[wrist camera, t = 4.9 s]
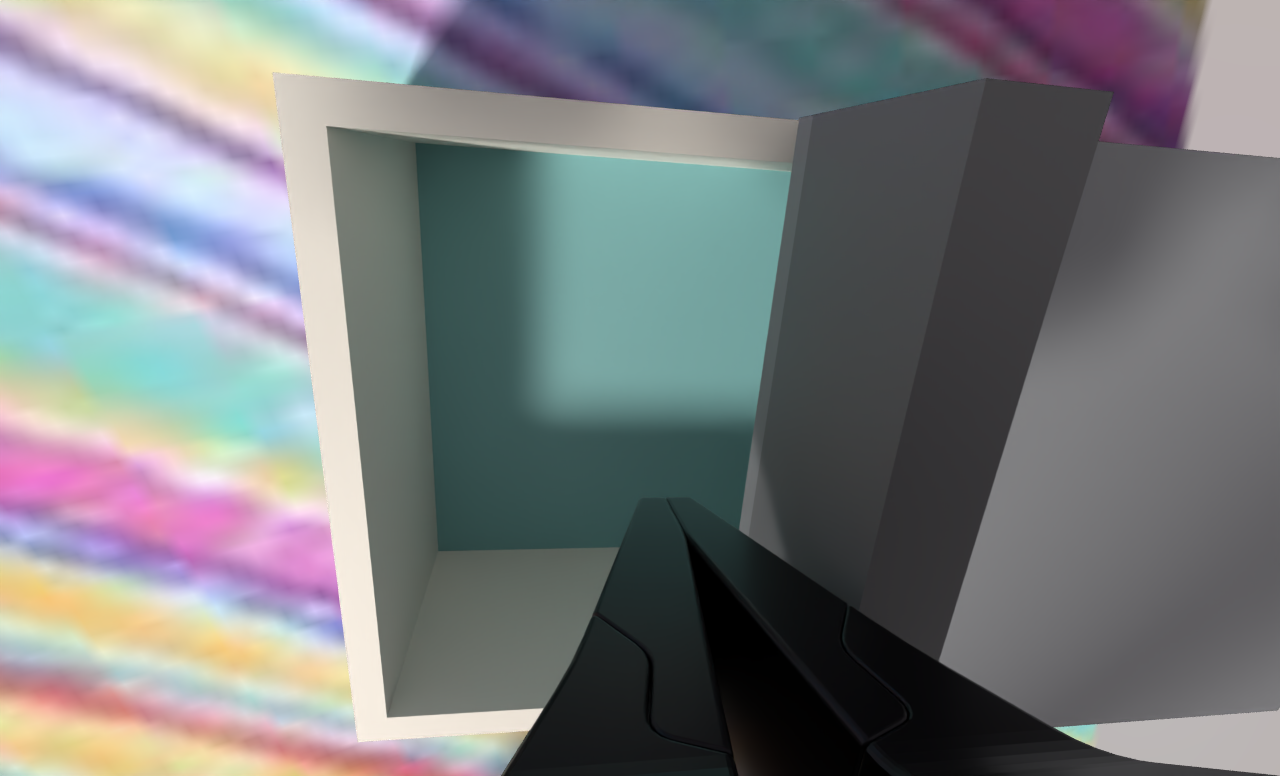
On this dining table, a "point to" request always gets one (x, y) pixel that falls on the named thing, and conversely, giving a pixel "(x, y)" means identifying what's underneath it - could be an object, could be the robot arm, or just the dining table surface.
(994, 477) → the lid
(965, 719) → the robot arm
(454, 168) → the box
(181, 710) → the dining table surface
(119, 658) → the dining table surface
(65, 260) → the dining table surface
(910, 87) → the dining table surface
